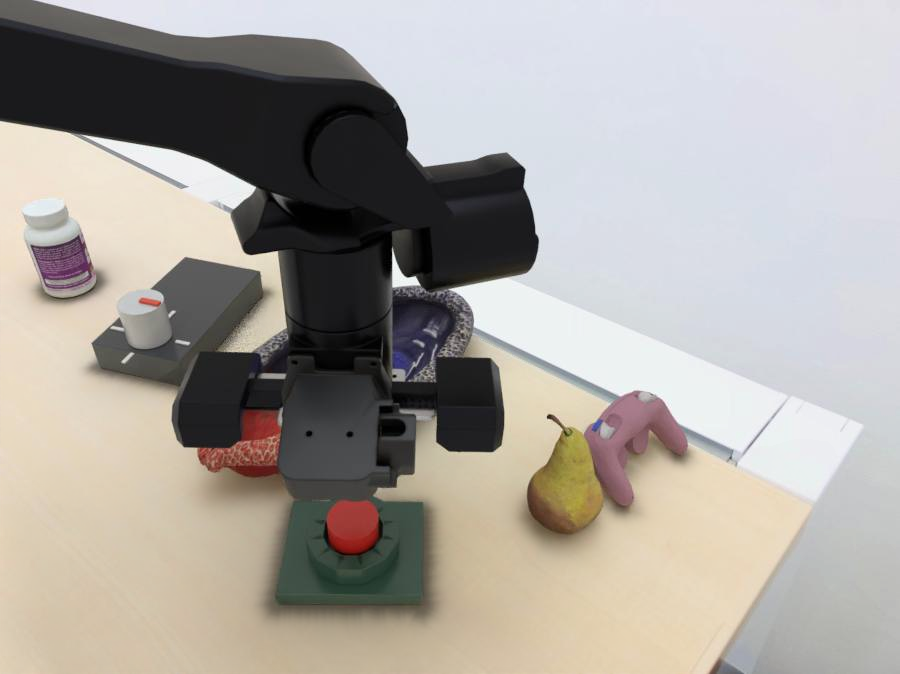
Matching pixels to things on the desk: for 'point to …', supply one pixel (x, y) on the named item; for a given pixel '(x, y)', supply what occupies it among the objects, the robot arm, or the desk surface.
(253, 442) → the dish
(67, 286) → the pill bottle
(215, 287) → the rotary dial box
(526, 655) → the desk surface
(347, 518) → the button
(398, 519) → the button block
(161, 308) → the rotary knob
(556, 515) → the fruit
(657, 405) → the video game controller
